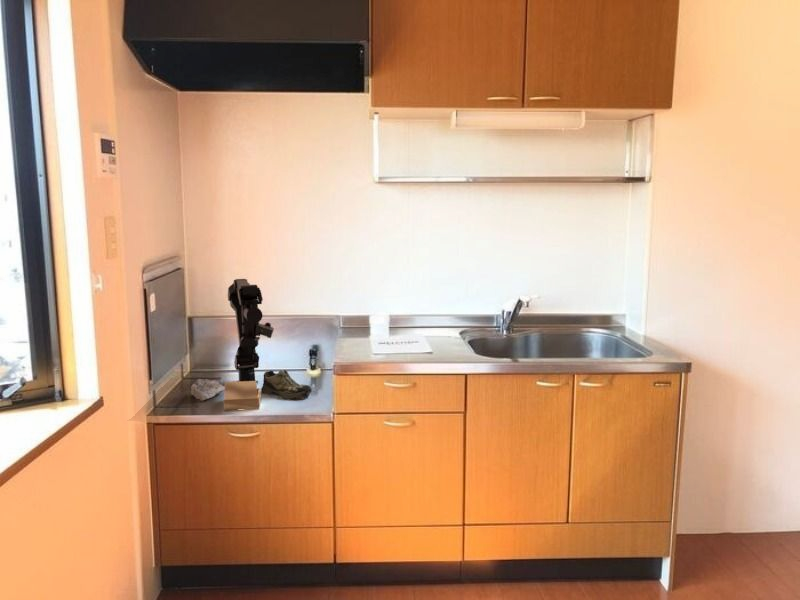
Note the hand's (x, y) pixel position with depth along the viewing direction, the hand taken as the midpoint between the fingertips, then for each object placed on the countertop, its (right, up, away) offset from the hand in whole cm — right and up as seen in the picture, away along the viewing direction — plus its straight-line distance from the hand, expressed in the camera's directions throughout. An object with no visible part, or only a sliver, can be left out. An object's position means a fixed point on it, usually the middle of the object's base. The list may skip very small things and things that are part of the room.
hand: (251, 359), depth 254 cm
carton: (-1, -15, -12) cm, 19 cm away
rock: (-16, -14, -2) cm, 21 cm away
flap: (0, -9, -18) cm, 20 cm away
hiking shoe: (+13, -14, -1) cm, 19 cm away
